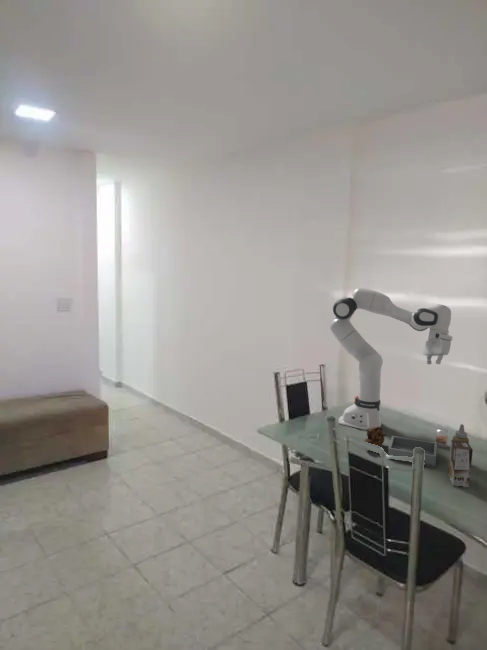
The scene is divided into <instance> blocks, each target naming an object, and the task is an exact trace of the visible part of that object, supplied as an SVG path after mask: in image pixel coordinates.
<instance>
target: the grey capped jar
mask: <svg viewBox="0 0 487 650" xmlns="http://www.w3.org/2000/svg"><path fill="white" fill-rule="evenodd" d="M448 435H449V429H446V428H443V427H437V428H436V433H435V443H437V448H440V449H442V448H443V449H446V448H447V445H448Z"/></svg>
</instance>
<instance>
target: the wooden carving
mask: <svg viewBox="0 0 487 650" xmlns="http://www.w3.org/2000/svg"><path fill="white" fill-rule="evenodd" d="M366 431H367V432H366V436H367V438H365V439H364V440H363V442H364V441H365V442H368V443H371V444H375V445H378V446H380V447H381V446H382V445H383V444H384V441H385V438H384V437H386V435H387V434H386V433H385V432H384V429H383V427H382V426H380V427H379V426H378V427H376V426H373V427H371V428H370V429H368V430H366Z"/></svg>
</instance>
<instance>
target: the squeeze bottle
mask: <svg viewBox="0 0 487 650" xmlns="http://www.w3.org/2000/svg"><path fill="white" fill-rule="evenodd" d="M464 426H465V425H464V424H462V423H461V424H460V426H459V429H458V430H456V431H455V435H453V436H452V439H451V440H454V441H467V442H468V444H469V445H470V440H469V438H468V433H467V432H466V430H465V427H464ZM449 456H450V453H449Z"/></svg>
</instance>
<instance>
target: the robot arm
mask: <svg viewBox="0 0 487 650" xmlns="http://www.w3.org/2000/svg"><path fill="white" fill-rule="evenodd" d="M359 309H361V310H365V311H366V312H367V311H368V312H370V313H373V314H377V315H382V316H385V317H390V318H393V319H396V320H397V321H400V322H403V323H406V324H407V325H409V326H410V327H411V328H412V329H413V330H415V331H416V332H417V331H418V332H424V331H426V330H428V329H429V333H428V340H426V341H425V343H424V347H423V352H422V354H423V356H426V364H427V365H432V358H433V357H436V356H437V358H436V360H435V364H436V365H441V364H442V363H441V362H442V361H443V358H444V356H448V354H449V353H450V350H451V344H452V341H453V336H451V335H450V334H449V332H450V331H449V328H450V326H451V320H452V311H451V309H450V307H449V306H447V305H445V304H436V305H432V306H430V307H423V308H419V309H417V310H415V312H414V311H410V310H408V309H405V308H402V307H400V306H398V305H396V304H395V303H393V301H392V300H391V299H390V296H388V295H387V294H384V293H382V292H379V291H377V290H374V289H369V288H364V287H357V288H356V289H355V290H354V291H353V292H352V294H351V296H350V297H345V296H344V297H340V298H338V299H337V300H336V301H335V302H334V304H333V307H332V311H333V314H334V316H335V318H334V319H333V320H332V321H331V322H330V323H329V324H330V326H329V327H330V330H331V333H332V334H333V335H334V337H335V339H337V341H338V342H339V343H340V344H341V346H342V347H343V348H344V349H345V352H347V353H348V354H349V355H350V356H351V357H353V358H354V359H355V360H356V361H357V362H358V363H359V364H358V382H359V384H358V395H356V396H355V397H354V403H353V404H352V405H349V406H348V407H347V408H345V409H344V411H343V414H342V415H341V416H339V418H338V424H340V425H343V426H347V427H352V428H357V429H360V430H364V431H368V430H369V429H370V428H371V427H373V426H376V427H378V426H379V427H382V422H381V417H380V416H381V415H380V410H381V373H382V366H383V360H384V359H383V358H382V355H381V354H380V353H378V351H376V349H375V348H374V347H373V346H372V345H370V343H368V342H367V341H366V339H364V337H363V336H362V335H361V334H360V332H359V331H358V330H357V328H355V326H354V325H353V324H352V323H351V320H350V319H352V316H353V315H354V314H355V312H356V310H359Z"/></svg>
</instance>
